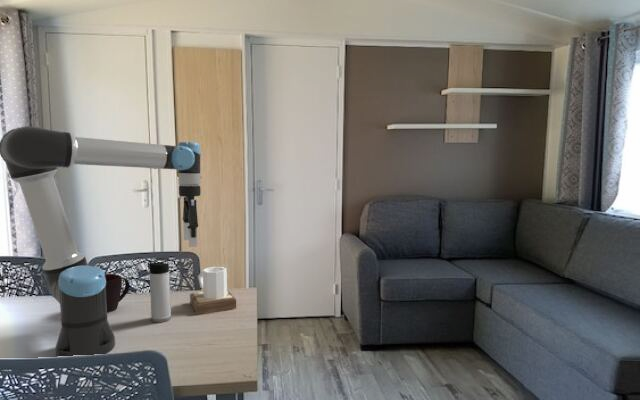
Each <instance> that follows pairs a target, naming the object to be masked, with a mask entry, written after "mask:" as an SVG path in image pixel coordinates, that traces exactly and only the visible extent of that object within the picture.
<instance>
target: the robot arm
mask: <svg viewBox="0 0 640 400" xmlns="http://www.w3.org/2000/svg"><path fill="white" fill-rule="evenodd" d="M201 156H202V155H201V146H200V143H199V142H196V141H195V142H194V141H179V142H178V145H170V144H169V145H167V144H156V143H146V142H137V141H136V142H135V141H125V140H124V141H123V140H113V139H104V138H102V139H101V138H90V137H83V136H82V137H81V136H80V137H79V136H74V135H73V134H72V133H71V132H67V131H66V132H65V131H59V130H58V131H57V130H54V129H53V130H52V129H46V128H42V127H39V126H31V125H29V126H21V127H16V128H13V129H11V130H9V131H7V132H6V133H5V134H3V136H2V138H1V140H0V157H1V158H2V160H3V161H4V162H5V165H6V168H7V171H8V173H9V176H10V178H11V180H12V181H14V182H16V183H18V184H19V186H20V189H21V191H22V194H23V197H24V201H25V203H26V206H27V209H28V212H29V215H30V218H31V221H32V224H33V226H34V227H33V228H34V230H35V233H36V235H37V239H38V241H39V245H40V246H41V251H42V252H43V256H44V259H45V262H44V263H43V264H42V267H41V268H42V271H43V275H44V277H45V287H46V291H47V292H48V294H49V295H50V296H51V297H52V298H53V299H54V300H56V301H57V302H58V304H59V307H60V321H61V322H60V323H61V328H60V332H59V335H58V338H57V342H56V345H55V356H73V355H94V354H103V355H106V354H107V353H109V352H110V351H112V350H113V349H114V348H115V346H116V337H115V335H114V332H113V329H112V328H111V324H110V323H109V321H108V313H107V303H106V278H105V271H104V270H103V269H102V268H101V267H98V266H95V265H94V266H92V265H89V264H88V261H87V258H86V255H85V254H84V253H83V252H79V251H78V248H77V245H76V241H75V239H74V235H73V233H72V230H71V226H70V224H69V220H68V217H67V215H66V211H65V209H64V205H63V201H62V199H61V196H60V193H59V189H58V187H57V184H56V181H55V175H56V173H57V171H58V168H70V167H73V165H83V166H85V165H86V166H102V167H103V166H104V167H119V168H121V167H123V168H143V169H154V170H156V169H157V170H158V169H159V170H161V169H163V170H177V171H178V184H179V186H178V196H180V197H183V212H182V221H183V241H188V247H189V248H191V247H198V227H199V220H198V209H197V201H198V200H197V199H195V197H200V196H201V193H202V191H201V186H200V184H201V179H203V177H202V176H203V175H201Z"/></svg>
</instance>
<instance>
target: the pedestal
mask: <svg viewBox="0 0 640 400" xmlns="http://www.w3.org/2000/svg"><path fill="white" fill-rule="evenodd" d="M189 302H190V304H192V305H191V306H192V308H193V310H194V311H196V312H195V313H196V315H197V316H198V314H199V315H204V314H203V313H205V314H211V313H210V312H212V313H217V312H216V311H218V312H223V311H222V310H225V311H229V310H228V309H231V310H234V309H233V308H236V309H237V299H236V297H235V296H234V295H233V294H232V293H231V292H230V291H229V290H228V289H227V295H226V296H225V297H222V298H218V299H207V298H205V297H203V291H197V292H192V293H189Z"/></svg>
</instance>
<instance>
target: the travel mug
mask: <svg viewBox="0 0 640 400" xmlns="http://www.w3.org/2000/svg"><path fill="white" fill-rule="evenodd" d="M169 265H170V263H165V262H150V263H149V266H148V267H149V287H150V288H149V290H150V294H149V296H150V311H151V312H150V314H151V317H150V318H151V321H152V322H153V323H157V324H158V323H165V322H167V321H168V322H169V320H171V318H172V311H171V287H170V286H171V284H170V282H171V281H170V266H169Z"/></svg>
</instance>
